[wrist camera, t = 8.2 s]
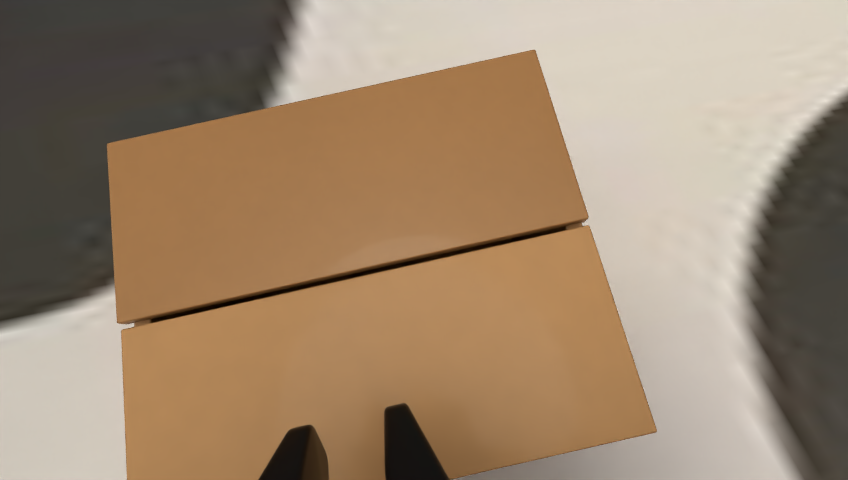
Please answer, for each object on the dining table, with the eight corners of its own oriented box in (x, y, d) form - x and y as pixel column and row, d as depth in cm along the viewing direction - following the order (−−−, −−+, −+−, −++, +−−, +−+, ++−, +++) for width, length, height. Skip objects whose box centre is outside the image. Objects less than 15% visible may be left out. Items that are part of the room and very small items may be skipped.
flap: (651, 430, 12) (658, 432, 11) (139, 547, 12) (129, 553, 11) (585, 228, 13) (589, 224, 13) (129, 330, 13) (120, 329, 13)
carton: (566, 401, 20) (661, 435, 11) (268, 469, 20) (127, 557, 11) (500, 168, 23) (536, 46, 14) (238, 226, 23) (104, 140, 14)
